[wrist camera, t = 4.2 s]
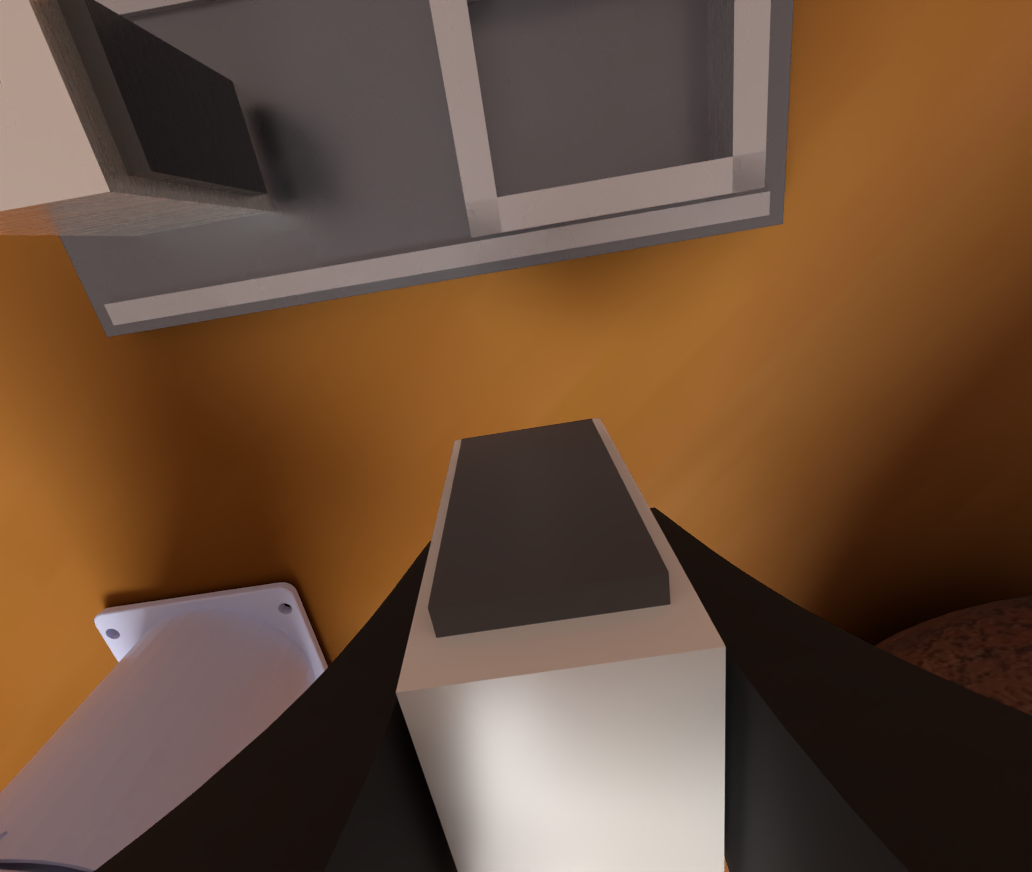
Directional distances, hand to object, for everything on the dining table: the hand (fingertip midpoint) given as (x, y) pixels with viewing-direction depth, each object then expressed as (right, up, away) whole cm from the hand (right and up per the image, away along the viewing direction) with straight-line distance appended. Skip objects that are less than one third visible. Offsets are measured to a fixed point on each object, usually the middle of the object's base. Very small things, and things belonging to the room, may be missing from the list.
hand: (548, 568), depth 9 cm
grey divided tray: (-4, +11, +4) cm, 12 cm away
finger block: (0, +1, +2) cm, 2 cm away
